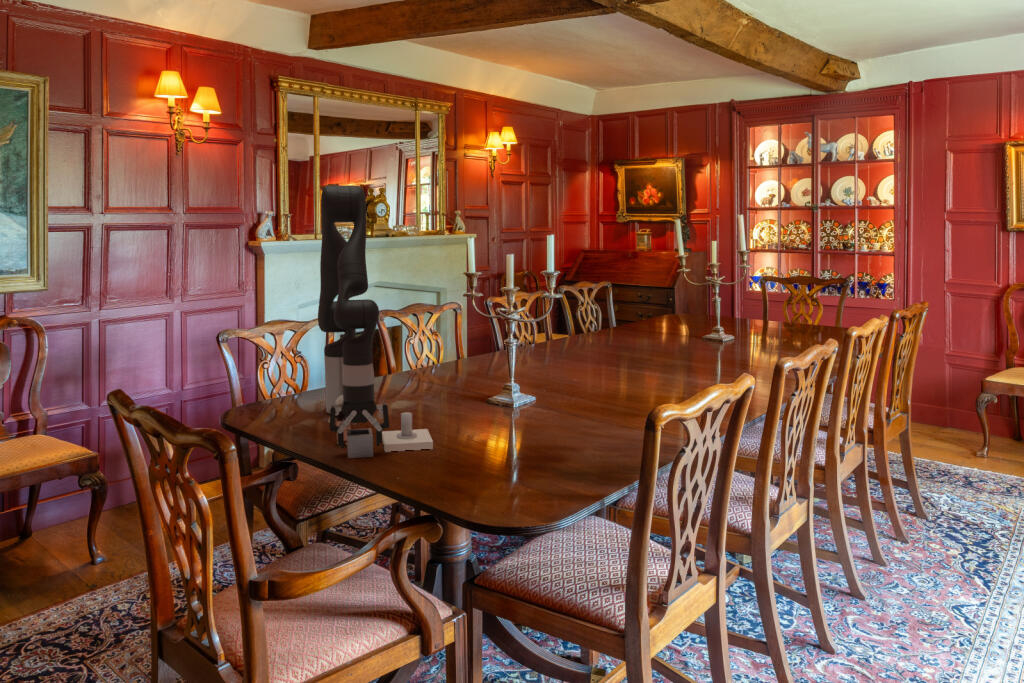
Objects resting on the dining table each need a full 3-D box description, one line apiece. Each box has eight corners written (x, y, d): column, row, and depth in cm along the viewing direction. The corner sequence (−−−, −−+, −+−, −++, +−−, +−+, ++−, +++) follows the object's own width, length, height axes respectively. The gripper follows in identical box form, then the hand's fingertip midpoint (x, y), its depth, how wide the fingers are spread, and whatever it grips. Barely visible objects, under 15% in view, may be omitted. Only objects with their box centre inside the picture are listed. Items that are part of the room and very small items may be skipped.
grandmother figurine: (359, 441, 197) (358, 393, 195) (357, 445, 193) (355, 397, 191) (329, 441, 197) (328, 393, 195) (326, 445, 193) (325, 397, 191)
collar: (347, 450, 188) (347, 429, 187) (372, 449, 190) (371, 428, 189) (348, 458, 183) (347, 436, 182) (373, 456, 184) (372, 434, 183)
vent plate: (381, 438, 199) (381, 409, 198) (427, 436, 202) (427, 407, 200) (384, 452, 187) (384, 421, 186) (433, 449, 190) (432, 418, 189)
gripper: (387, 377, 188) (388, 440, 191) (328, 379, 185) (330, 443, 188) (389, 383, 181) (390, 448, 184) (328, 386, 178) (330, 452, 180)
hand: (360, 446), depth 186 cm, fingers open, 8 cm apart
